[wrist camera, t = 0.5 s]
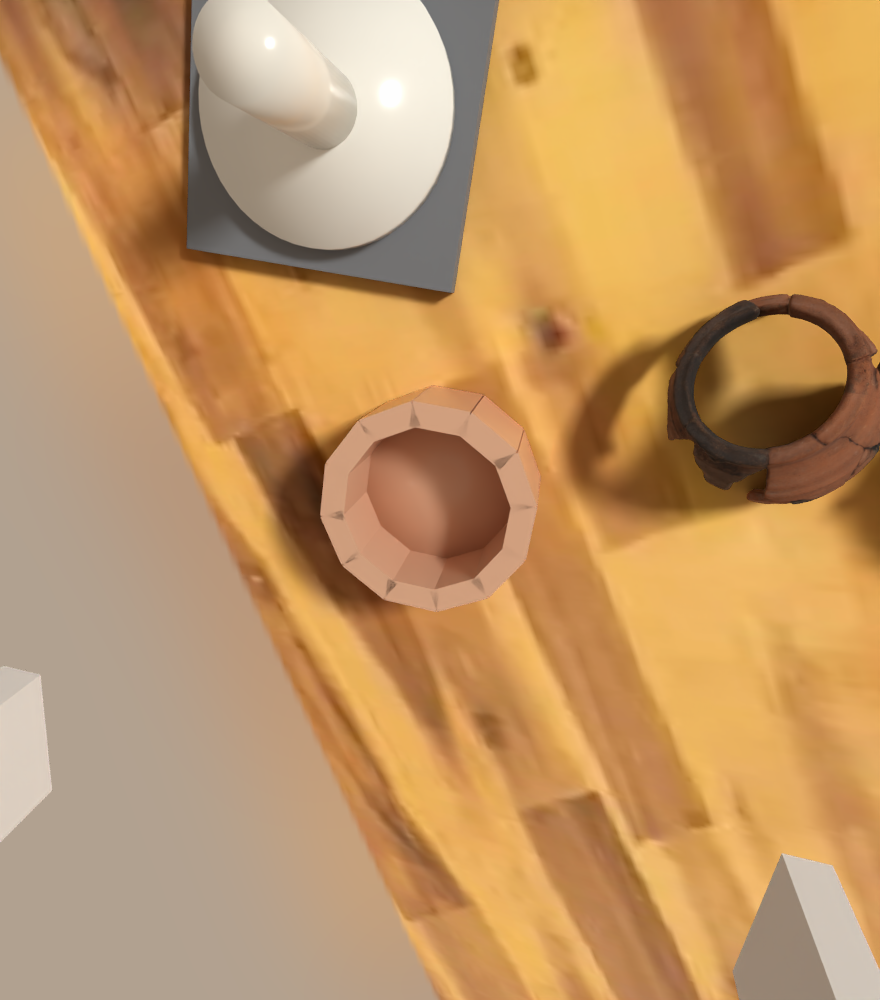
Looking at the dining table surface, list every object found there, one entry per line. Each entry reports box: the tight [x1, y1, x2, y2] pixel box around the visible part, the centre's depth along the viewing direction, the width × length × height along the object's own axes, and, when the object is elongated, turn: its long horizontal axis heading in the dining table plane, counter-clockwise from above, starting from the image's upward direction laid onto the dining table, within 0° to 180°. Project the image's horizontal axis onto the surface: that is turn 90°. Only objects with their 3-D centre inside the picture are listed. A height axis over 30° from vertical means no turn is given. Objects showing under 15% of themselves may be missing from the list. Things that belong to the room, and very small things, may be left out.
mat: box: [187, 0, 499, 293], centre depth 31 cm, size 14×14×1 cm
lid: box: [192, 0, 455, 250], centre depth 26 cm, size 12×12×9 cm
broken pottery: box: [667, 294, 880, 504], centre depth 29 cm, size 12×10×8 cm
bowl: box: [320, 385, 541, 612], centre depth 34 cm, size 10×10×5 cm
